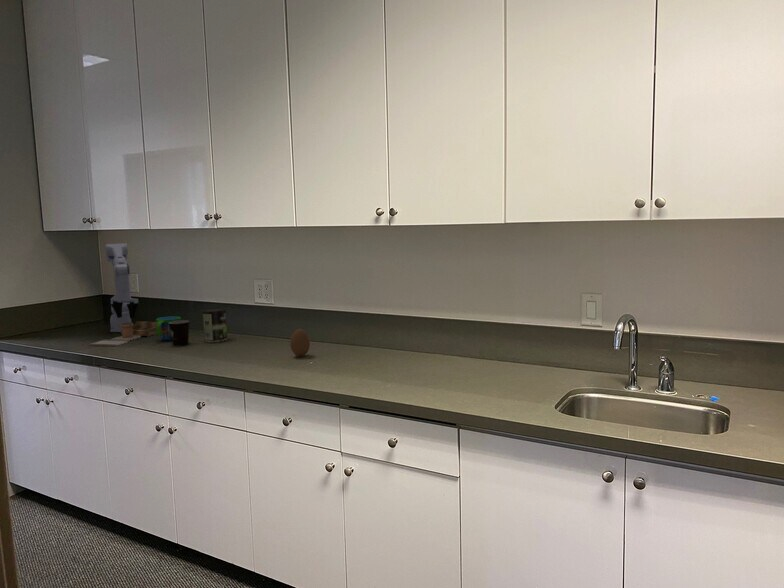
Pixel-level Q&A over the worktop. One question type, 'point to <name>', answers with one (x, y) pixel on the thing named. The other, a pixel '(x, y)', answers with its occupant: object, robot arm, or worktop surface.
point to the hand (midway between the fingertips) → (126, 317)
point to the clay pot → (127, 330)
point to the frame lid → (109, 343)
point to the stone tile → (126, 338)
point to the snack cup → (165, 326)
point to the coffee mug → (179, 332)
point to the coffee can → (214, 325)
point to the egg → (300, 342)
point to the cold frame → (144, 328)
